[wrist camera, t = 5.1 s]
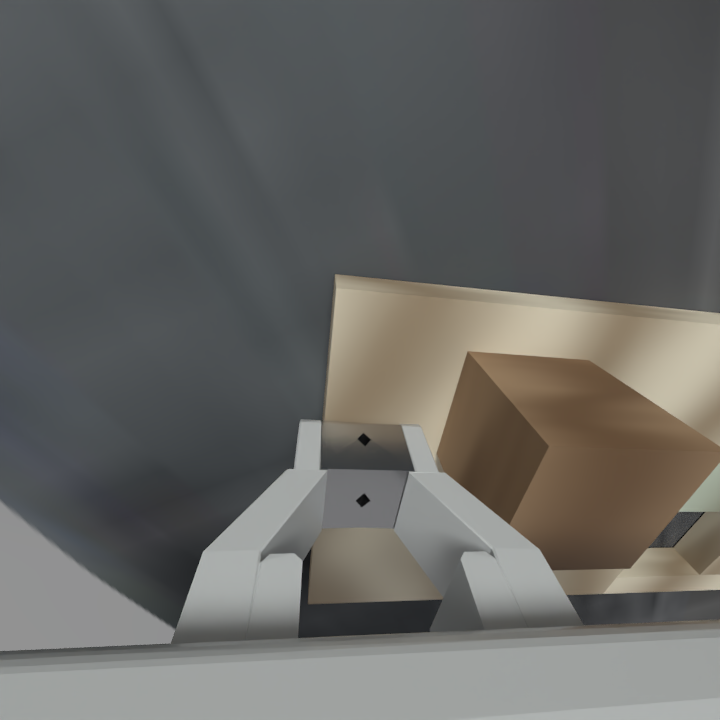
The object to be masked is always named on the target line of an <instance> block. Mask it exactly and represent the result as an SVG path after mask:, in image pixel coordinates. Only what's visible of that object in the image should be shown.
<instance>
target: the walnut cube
mask: <svg viewBox="0 0 720 720" xmlns="http://www.w3.org/2000/svg"><path fill="white" fill-rule="evenodd" d="M437 456H438V458H439V461H440V463H441V465H442V468H443V470H444V473H446V474H448V475H449V476H450V477H451V478H452V479H454V480H455V481H456V482H457V483H459V484H460V485H461V486H462V487H463V488H465V489H466V490H467V491H468V492H470V493H471V494H472V495H473V496H475V497H476V498H477V499H478V500H479V501H481V502H482V503H483V504H484V505H486V506H487V507H488V508H489V509H491V510H492V511H493V512H494V513H495V514H497V515H498V516H499V517H500V518H502V519H503V520H504V521H505V522H507V523H508V524H509V525H510V526H511V527H513V528H514V529H515V530H516V531H518V532H519V533H520V534H521V535H523V536H524V537H525V538H526V539H527V540H529V541H530V542H531V543H532V544H534V545H535V546H536V547H537V548H538V549H540V551H541V553H542V554H543V556H544V558H545V559H546V561H547V563H548V565H549V566H550V568H551V570H552V571H554V570H595V569H630V568H631V567H632V566H633V565H634V564H635V562H636V561H637V560H638V559H639V558H640V557H641V555H642V554H643V553H644V552H645V551H646V549H647V548H648V547H649V546H650V545H651V543H652V542H653V541H654V540H655V539H656V538H657V536H658V535H659V534H660V533H661V532H662V530H663V529H664V528H665V527H666V526H667V525H668V523H669V522H670V521H671V520H672V519H673V517H674V516H675V515H676V514H677V513H678V512H679V510H680V509H681V508H682V507H683V506H684V504H685V503H686V502H687V501H688V500H689V499H690V497H691V496H692V495H693V494H694V493H695V491H696V490H697V489H698V488H699V487H700V485H701V484H702V483H703V482H704V481H705V480H706V478H707V477H708V476H709V475H710V474H711V472H712V471H713V470H714V469H715V468H716V467H717V465H718V464H719V463H720V446H718V445H717V444H715V443H714V442H712V441H711V440H709V439H708V438H706V437H705V436H703V435H702V434H700V433H699V432H697V431H696V430H694V429H693V428H691V427H690V426H688V425H687V424H685V423H684V422H682V421H681V420H679V419H678V418H676V417H675V416H673V415H671V414H670V413H668V412H667V411H665V410H664V409H662V408H661V407H659V406H658V405H656V404H655V403H653V402H652V401H650V400H649V399H647V398H646V397H644V396H643V395H641V394H640V393H638V392H637V391H635V390H634V389H632V388H631V387H629V386H628V385H626V384H625V383H623V382H621V381H620V380H618V379H617V378H615V377H614V376H612V375H611V374H609V373H608V372H606V371H605V370H603V369H602V368H600V367H599V366H597V365H596V364H594V363H593V362H591V361H590V360H581V359H567V358H554V357H540V356H527V355H513V354H500V353H486V352H472V351H467V355H466V358H465V361H464V364H463V368H462V371H461V374H460V378H459V381H458V384H457V388H456V391H455V394H454V397H453V401H452V404H451V407H450V411H449V414H448V417H447V420H446V424H445V427H444V430H443V434H442V437H441V440H440V443H439V447H438V450H437Z"/></svg>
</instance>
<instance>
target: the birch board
mask: <svg viewBox="0 0 720 720" xmlns="http://www.w3.org/2000/svg"><path fill="white" fill-rule="evenodd" d="M467 351H472V352H486V353H500V354H513V355H527V356H540V357H554V358H567V359H581V360H590V361H591V362H593V363H594V364H596V365H597V366H599V367H600V368H602V369H603V370H605V371H606V372H608V373H609V374H611V375H612V376H614V377H615V378H617V379H618V380H620V381H621V382H623V383H625V384H626V385H628V386H629V387H631V388H632V389H634V390H635V391H637V392H638V393H640V394H641V395H643V396H644V397H646V398H647V399H649V400H650V401H652V402H653V403H655V404H656V405H658V406H659V407H661V408H662V409H664V410H665V411H667V412H668V413H670V414H671V415H673V416H675V417H676V418H678V419H679V420H681V421H682V422H684V423H685V424H687V425H688V426H690V427H691V428H693V429H694V430H696V431H697V432H699V433H700V434H702V435H703V436H705V437H706V438H708V439H709V440H711V441H712V442H714V443H715V444H717V445H718V446H720V313H712V312H702V311H692V310H682V309H672V308H662V307H653V306H643V305H633V304H623V303H613V302H603V301H594V300H584V299H574V298H564V297H554V296H544V295H535V294H525V293H515V292H505V291H495V290H485V289H475V288H466V287H456V286H446V285H436V284H426V283H416V282H407V281H397V280H387V279H377V278H367V277H357V276H348V275H338V274H335V279H334V291H333V302H332V314H331V325H330V337H329V349H328V360H327V372H326V384H325V395H324V407H323V418H322V420H326V421H341V422H356V423H374V424H398V425H399V424H419V425H420V426H421V428H422V430H423V433H424V435H425V438H426V440H427V443H428V445H429V448H430V450H431V453H432V456H433V458H434V461H435V463H436V466H437V468H438V471H439V472H441V473H444V470H443V468H442V465H441V463H440V461H439V458H438V456H437V450H438V447H439V443H440V440H441V437H442V434H443V430H444V427H445V424H446V420H447V417H448V414H449V411H450V407H451V404H452V401H453V397H454V394H455V391H456V388H457V384H458V381H459V378H460V374H461V371H462V368H463V364H464V361H465V358H466V355H467ZM679 512H705V513H704V514H703V515H702V516H701V517H700V519H699V520H698V521H697V522H696V523H695V524H694V525H693V526H692V527H691V528H690V530H689V531H688V532H687V533H686V534H685V535H684V536H683V537H682V538H681V540H680V541H679V542H678V543H677V544H676V545H675V546H674V547H673V548H647V549H646V551H645V552H644V553H643V554H642V555H641V557H640V558H639V559H638V560H637V561H636V562H635V564H634V565H633V566H632V567H631V568H630V569H595V570H554V571H552V572H553V573H554V575H555V577H556V578H557V580H558V582H559V584H560V585H561V587H562V589H563V590H564V592H565V594H566V595H582V594H610V593H639V592H667V591H695V590H720V463H719V464H718V465H717V467H716V468H715V469H714V470H713V471H712V472H711V474H710V475H709V476H708V477H707V478H706V480H705V481H704V482H703V483H702V484H701V485H700V487H699V488H698V489H697V490H696V491H695V493H694V494H693V495H692V496H691V497H690V499H689V500H688V501H687V502H686V503H685V504H684V506H683V507H682V508H681V509H680V510H679ZM442 599H443V596H442V595H441V594H440V592H439V591H438V590H437V588H436V587H435V586H434V584H433V583H432V582H431V580H430V579H429V577H428V576H427V575H426V573H425V572H424V571H423V569H422V568H421V567H420V565H419V564H418V563H417V561H416V560H415V558H414V557H413V556H412V554H411V553H410V552H409V550H408V549H407V548H406V546H405V545H404V544H403V542H402V541H401V539H400V538H399V537H398V535H397V534H396V533H395V531H394V529H391V528H326V529H322V530H321V533H320V534H319V536H318V537H317V539H316V541H315V542H314V544H313V546H312V547H311V558H310V569H309V590H308V604H329V603H357V602H385V601H413V600H442Z"/></svg>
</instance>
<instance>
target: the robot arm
mask: <svg viewBox="0 0 720 720" xmlns="http://www.w3.org/2000/svg"><path fill="white" fill-rule="evenodd" d="M326 528H391V529H394V531H395V533H396V534H397V535H398V537H399V538H400V539H401V541H402V542H403V544H404V545H405V546H406V548H407V549H408V550H409V552H410V553H411V554H412V556H413V557H414V558H415V560H416V561H417V563H418V564H419V565H420V567H421V568H422V569H423V571H424V572H425V573H426V575H427V576H428V577H429V579H430V580H431V582H432V583H433V584H434V586H435V587H436V588H437V590H438V591H439V592H440V594H441V595H442V596H443V600H442V602H441V605H440V607H439V609H438V611H437V614H436V616H435V618H434V620H433V623H432V625H431V627H430V632H423V633H401V634H378V635H356V636H333V637H311V638H298V630H299V613H300V596H301V579H302V562H303V560H304V559H305V557H306V555H307V554H308V552H309V551H310V549H311V547H312V546H313V544H314V542H315V541H316V539H317V537H318V536H319V534H320V533H321V530H322V529H326ZM0 720H720V620H699V621H677V622H655V623H632V624H608V625H585V626H584V625H583V623H582V621H581V620H580V618H579V616H578V615H577V613H576V611H575V609H574V608H573V606H572V604H571V602H570V601H569V599H568V597H567V596H566V594H565V592H564V590H563V589H562V587H561V585H560V584H559V582H558V580H557V578H556V577H555V575H554V573H553V572H552V570H551V568H550V566H549V565H548V563H547V561H546V559H545V558H544V556H543V554H542V553H541V551H540V549H538V548H537V547H536V546H535V545H534V544H532V543H531V542H530V541H529V540H527V539H526V538H525V537H524V536H523V535H521V534H520V533H519V532H518V531H516V530H515V529H514V528H513V527H511V526H510V525H509V524H508V523H507V522H505V521H504V520H503V519H502V518H500V517H499V516H498V515H497V514H495V513H494V512H493V511H492V510H491V509H489V508H488V507H487V506H486V505H484V504H483V503H482V502H481V501H479V500H478V499H477V498H476V497H475V496H473V495H472V494H471V493H470V492H468V491H467V490H466V489H465V488H463V487H462V486H461V485H460V484H459V483H457V482H456V481H455V480H454V479H452V478H451V477H450V476H449V475H448V474H446V473H441V472H439V471H438V468H437V466H436V463H435V461H434V458H433V456H432V453H431V450H430V448H429V445H428V443H427V440H426V438H425V435H424V433H423V430H422V428H421V426H420V425H419V424H399V425H398V424H374V423H356V422H341V421H326V420H322V423H321V420H305V419H301V420H300V423H299V431H298V439H297V447H296V456H295V464H294V469H287V470H286V471H285V472H284V473H283V474H282V475H281V476H280V477H279V478H278V479H277V480H276V481H275V482H274V483H273V484H271V485H270V486H269V487H268V488H267V489H266V490H265V491H264V492H263V493H262V494H261V495H260V496H259V497H258V498H257V499H256V500H255V501H254V502H253V503H252V504H251V505H250V506H249V507H248V508H247V509H246V510H245V511H244V512H243V513H242V514H241V515H240V516H239V517H238V518H237V519H236V520H235V521H234V522H233V523H232V524H231V525H230V526H229V527H228V528H227V529H226V530H225V531H224V532H223V533H222V534H221V535H220V536H219V537H218V538H217V539H216V540H214V541H213V542H212V543H211V544H210V545H209V546H208V547H207V548H206V549H205V550H204V551H203V553H202V556H201V559H200V562H199V565H198V568H197V570H196V573H195V576H194V579H193V582H192V585H191V588H190V590H189V593H188V596H187V599H186V602H185V605H184V608H183V610H182V613H181V616H180V619H179V622H178V625H177V628H176V630H175V633H174V636H173V639H172V642H171V644H153V645H131V646H110V647H109V646H108V647H87V648H86V647H85V648H64V649H41V650H18V651H0Z"/></svg>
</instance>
